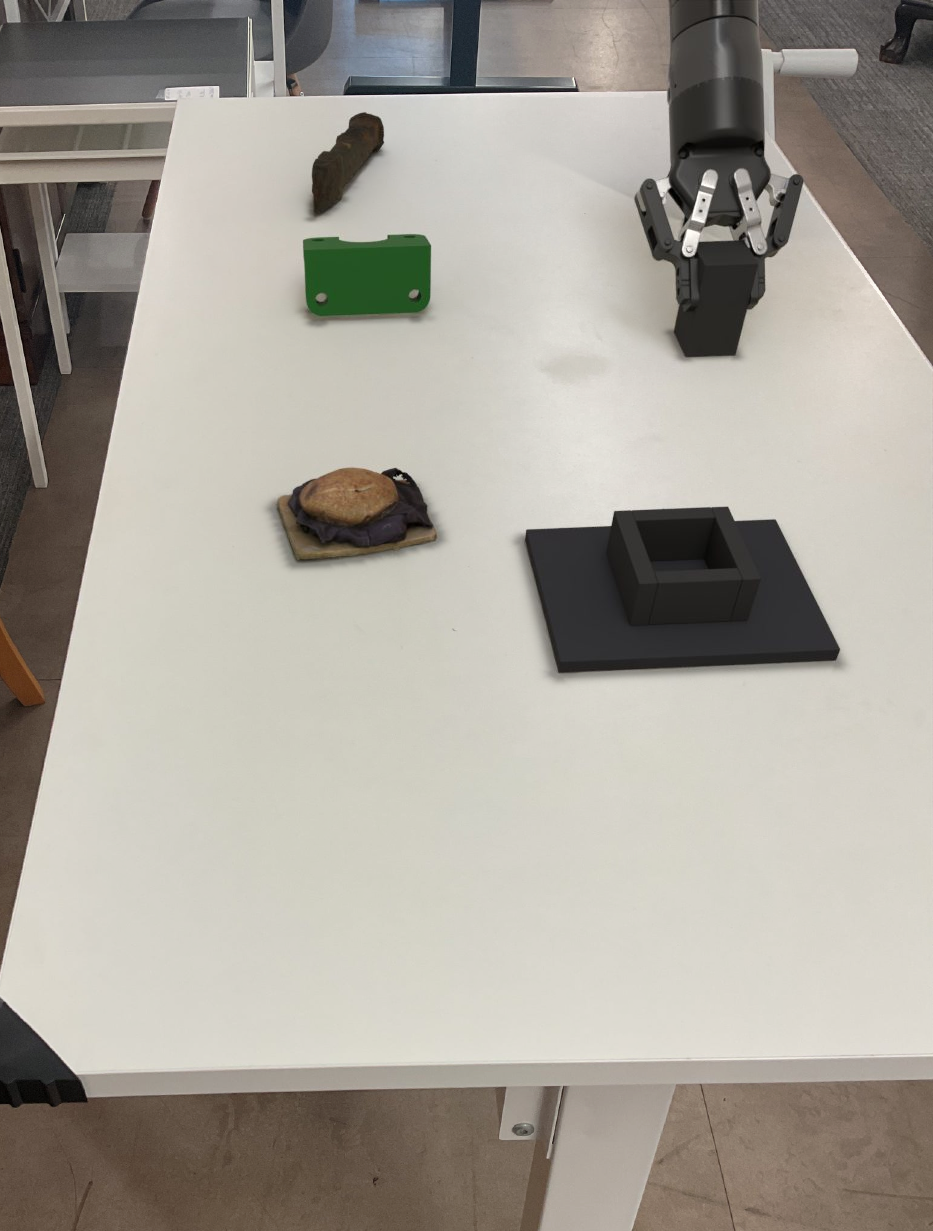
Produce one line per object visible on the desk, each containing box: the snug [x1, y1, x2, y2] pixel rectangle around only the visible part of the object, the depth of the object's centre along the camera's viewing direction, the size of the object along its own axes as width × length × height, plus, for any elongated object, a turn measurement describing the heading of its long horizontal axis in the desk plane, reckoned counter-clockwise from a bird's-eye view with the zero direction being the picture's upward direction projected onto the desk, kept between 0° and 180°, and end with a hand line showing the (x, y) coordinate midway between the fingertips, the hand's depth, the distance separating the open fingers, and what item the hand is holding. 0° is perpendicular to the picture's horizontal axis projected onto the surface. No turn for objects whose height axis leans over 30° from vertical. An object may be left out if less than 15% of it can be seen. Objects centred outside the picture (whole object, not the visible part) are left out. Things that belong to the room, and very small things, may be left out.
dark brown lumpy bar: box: [311, 111, 385, 214], centre depth 126 cm, size 19×4×5 cm, turn 160°
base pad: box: [524, 506, 841, 674], centre depth 79 cm, size 18×14×4 cm
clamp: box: [302, 233, 432, 317], centre depth 107 cm, size 12×6×9 cm, turn 87°
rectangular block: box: [673, 239, 758, 358], centre depth 101 cm, size 4×4×8 cm
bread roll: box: [276, 466, 438, 561], centre depth 85 cm, size 11×8×4 cm
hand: (721, 306), depth 99 cm, fingers closed on rectangular block, 4 cm apart
